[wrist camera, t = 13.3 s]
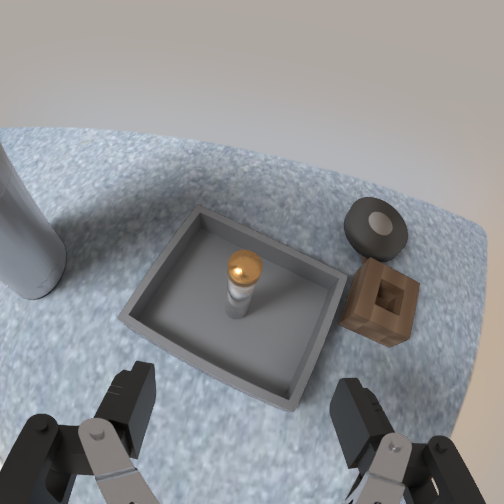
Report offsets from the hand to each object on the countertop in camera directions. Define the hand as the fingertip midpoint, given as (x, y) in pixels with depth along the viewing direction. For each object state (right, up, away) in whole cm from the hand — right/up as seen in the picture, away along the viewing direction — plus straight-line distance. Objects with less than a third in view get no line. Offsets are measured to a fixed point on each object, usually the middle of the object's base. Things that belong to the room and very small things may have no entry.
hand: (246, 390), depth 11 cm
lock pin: (-1, 0, +18) cm, 18 cm away
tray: (-1, 0, +18) cm, 18 cm away
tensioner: (+14, +3, +22) cm, 27 cm away
